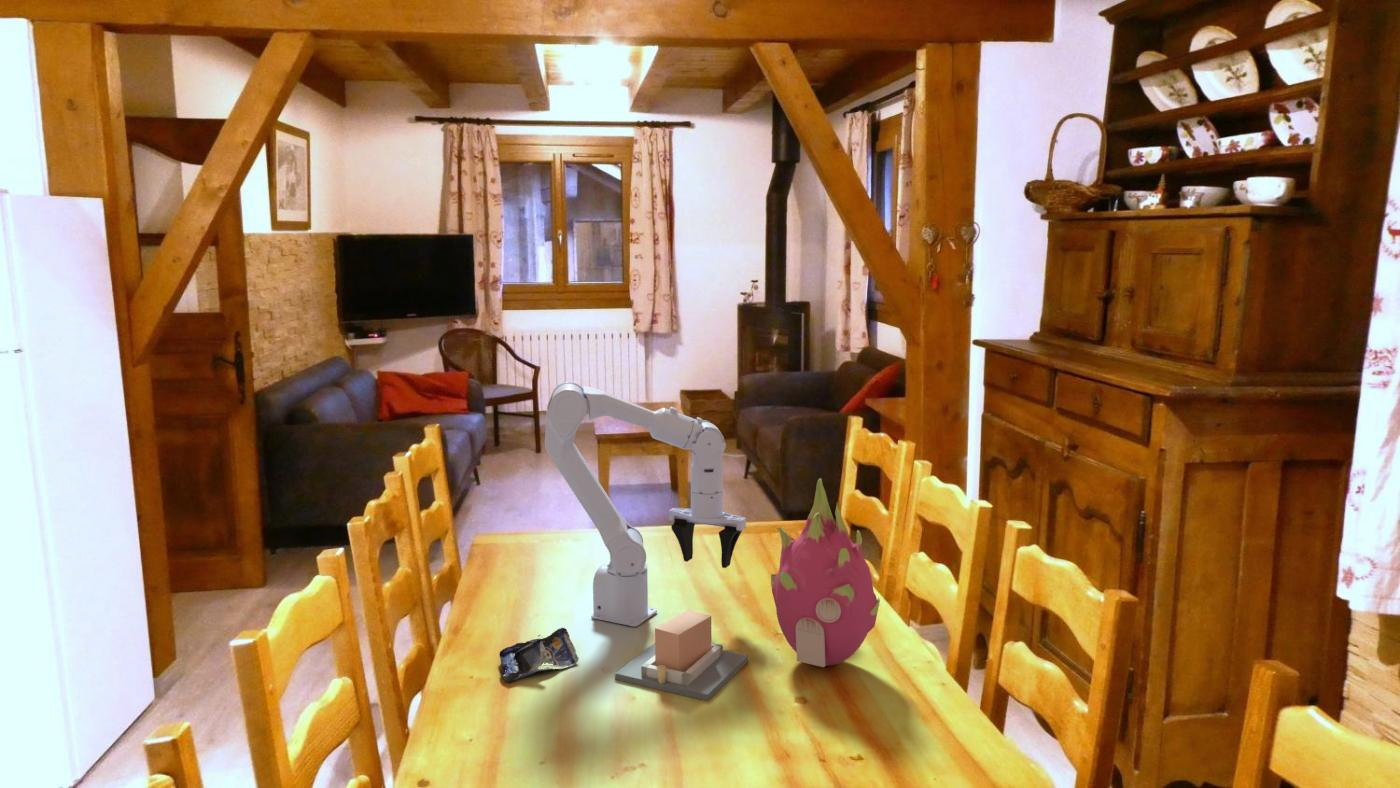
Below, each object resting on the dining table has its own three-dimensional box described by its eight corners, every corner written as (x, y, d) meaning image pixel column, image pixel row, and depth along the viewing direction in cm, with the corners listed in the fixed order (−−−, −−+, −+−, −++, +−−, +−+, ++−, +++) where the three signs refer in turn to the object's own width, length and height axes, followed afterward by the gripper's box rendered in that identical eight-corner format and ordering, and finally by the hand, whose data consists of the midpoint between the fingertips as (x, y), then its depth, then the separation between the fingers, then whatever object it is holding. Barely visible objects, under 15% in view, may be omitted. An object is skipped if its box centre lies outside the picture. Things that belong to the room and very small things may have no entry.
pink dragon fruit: (756, 672, 152) (757, 487, 147) (781, 638, 164) (783, 467, 159) (868, 691, 145) (873, 498, 140) (885, 655, 158) (891, 477, 153)
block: (678, 678, 147) (678, 634, 146) (655, 670, 150) (654, 628, 149) (711, 657, 155) (711, 615, 154) (688, 650, 157) (688, 609, 156)
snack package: (561, 691, 146) (585, 655, 158) (553, 651, 145) (577, 617, 157) (487, 696, 149) (516, 661, 161) (478, 657, 148) (508, 624, 160)
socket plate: (615, 679, 149) (614, 658, 149) (661, 643, 163) (661, 623, 162) (707, 701, 142) (707, 678, 142) (748, 661, 156) (748, 640, 155)
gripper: (752, 489, 172) (752, 562, 175) (681, 480, 179) (681, 550, 181) (736, 499, 166) (736, 574, 168) (663, 489, 173) (663, 562, 175)
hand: (706, 563), depth 174 cm, fingers open, 7 cm apart
